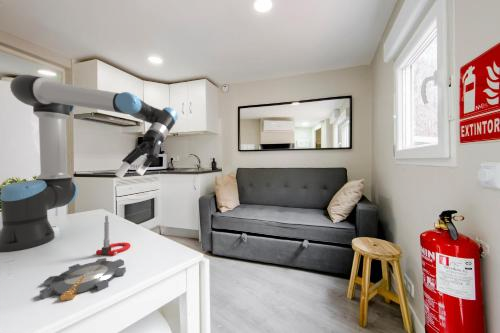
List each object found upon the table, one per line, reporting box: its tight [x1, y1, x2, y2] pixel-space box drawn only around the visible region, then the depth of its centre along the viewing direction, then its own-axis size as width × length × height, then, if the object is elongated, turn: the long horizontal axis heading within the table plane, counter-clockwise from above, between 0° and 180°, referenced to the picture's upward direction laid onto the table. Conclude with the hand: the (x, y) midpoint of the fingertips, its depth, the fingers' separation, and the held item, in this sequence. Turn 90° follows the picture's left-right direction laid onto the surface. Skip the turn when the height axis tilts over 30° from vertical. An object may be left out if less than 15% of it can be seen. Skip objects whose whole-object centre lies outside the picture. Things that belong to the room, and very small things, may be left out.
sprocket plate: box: [39, 257, 127, 302], centre depth 55 cm, size 18×18×1 cm
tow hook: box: [95, 215, 131, 256], centre depth 72 cm, size 8×13×9 cm
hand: (128, 175), depth 78 cm, fingers open, 13 cm apart
